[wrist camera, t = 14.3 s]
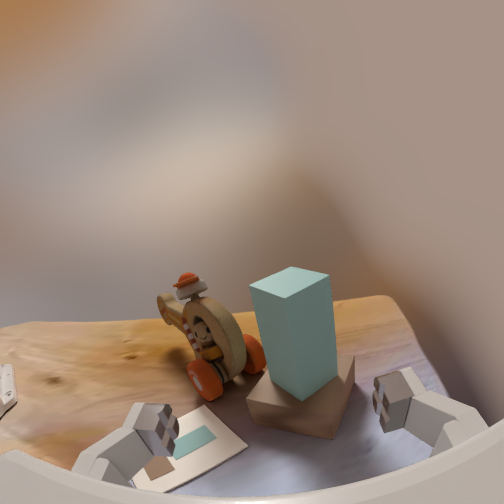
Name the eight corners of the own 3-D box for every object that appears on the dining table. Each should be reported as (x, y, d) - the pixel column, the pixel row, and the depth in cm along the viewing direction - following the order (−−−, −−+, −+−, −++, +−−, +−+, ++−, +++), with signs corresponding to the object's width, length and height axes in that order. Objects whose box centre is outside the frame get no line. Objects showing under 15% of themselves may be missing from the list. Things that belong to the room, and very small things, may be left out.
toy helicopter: (220, 414, 26) (179, 297, 23) (151, 346, 42) (122, 266, 39) (277, 376, 31) (255, 264, 28) (193, 326, 47) (171, 249, 44)
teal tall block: (270, 380, 25) (248, 285, 23) (305, 357, 28) (291, 266, 25) (301, 401, 22) (284, 298, 19) (337, 374, 24) (329, 275, 21)
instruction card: (118, 447, 22) (117, 446, 22) (205, 405, 28) (204, 404, 28) (144, 501, 15) (143, 500, 15) (248, 446, 21) (247, 444, 21)
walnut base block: (254, 425, 24) (245, 398, 23) (287, 376, 31) (281, 349, 30) (333, 441, 20) (332, 414, 19) (354, 384, 27) (354, 355, 26)
